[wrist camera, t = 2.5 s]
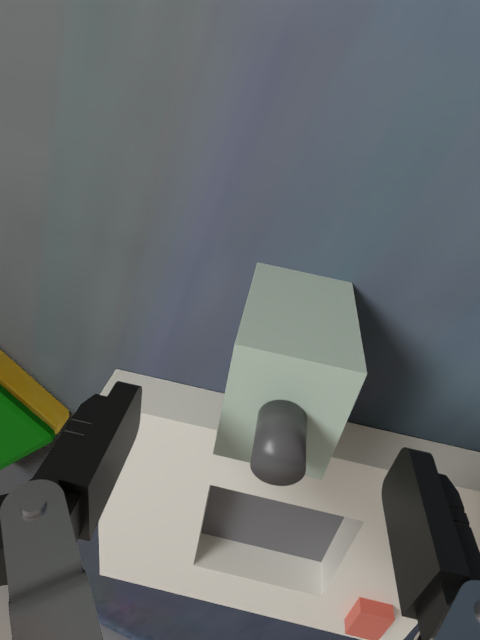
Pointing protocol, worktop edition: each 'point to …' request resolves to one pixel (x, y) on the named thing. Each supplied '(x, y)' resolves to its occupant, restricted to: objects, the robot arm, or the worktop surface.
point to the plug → (291, 375)
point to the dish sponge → (25, 413)
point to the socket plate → (263, 519)
